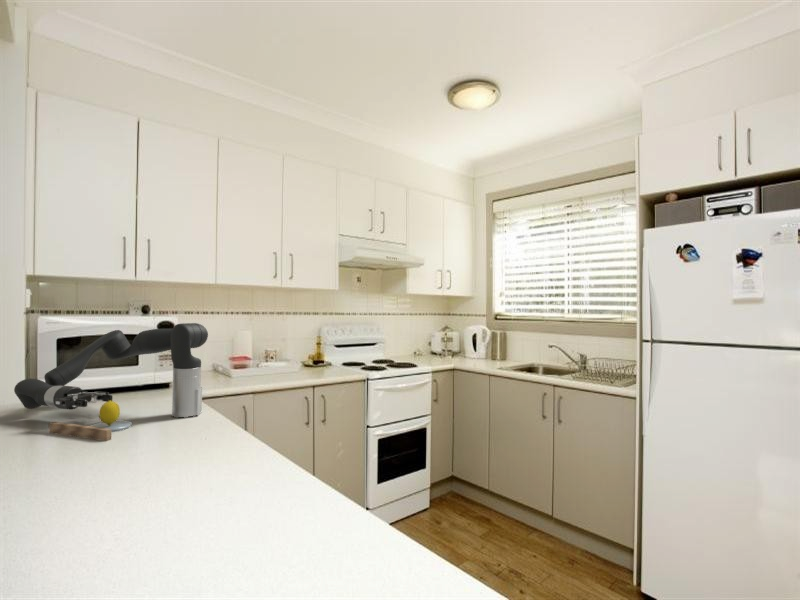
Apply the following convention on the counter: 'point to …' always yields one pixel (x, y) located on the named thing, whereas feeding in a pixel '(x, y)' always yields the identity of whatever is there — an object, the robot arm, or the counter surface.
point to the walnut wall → (80, 431)
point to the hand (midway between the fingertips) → (99, 400)
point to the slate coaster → (114, 425)
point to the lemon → (109, 412)
